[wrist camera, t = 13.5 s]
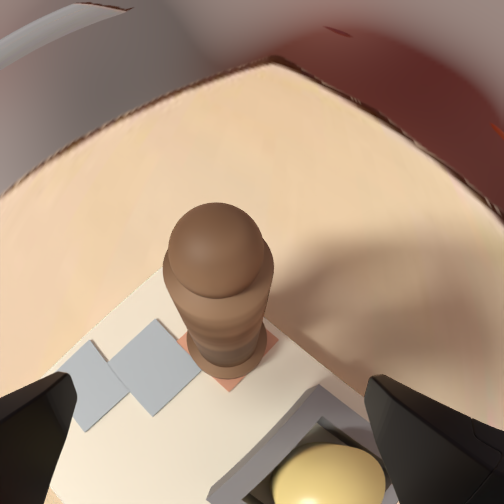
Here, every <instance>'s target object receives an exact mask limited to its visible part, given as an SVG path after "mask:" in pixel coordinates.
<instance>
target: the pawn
mask: <svg viewBox="0 0 504 504" xmlns="http://www.w3.org/2000/svg"><path fill="white" fill-rule="evenodd" d="M273 274H274V262H273V257H272V253H271V251H270V248H269V247H268V245H267V243H266V242H265V241H264V239H263V238H262V235H261V232H260V230H259V228H258V226H257V225H256V223H255V222H254V220H253V219H252V218H251V217H250V216H249V215H248V214H247V213H245V212H244V211H243V210H241V209H239V208H237V207H235V206H233V205H229V204H225V203H207V204H203V205H200V206H197V207H195V208H193V209H192V210H190V211H189V212H187V213H186V214H185V215H184V216H183V217H182V218H181V219H180V220H179V221H178V222H177V224H176V226H175V227H174V229H173V231H172V233H171V236H170V240H169V246H168V250H167V252H166V254H165V257H164V261H163V278H164V283H165V285H166V288H167V290H168V292H169V294H170V296H171V298H172V300H173V302H174V304H175V306H176V308H177V310H178V312H179V314H180V316H181V318H182V320H183V322H184V324H185V326H186V328H187V347H188V351H189V353H190V355H191V357H192V359H193V360H194V362H195V363H196V364H197V366H198V367H199V368H200V369H201V370H202V371H204V372H205V373H207V374H208V375H210V376H212V377H215V378H219V379H236V378H240V377H243V376H245V375H247V374H248V373H250V372H251V371H253V370H254V369H255V368H256V367H257V366H258V364H259V363H260V361H261V359H262V357H263V355H264V352H265V350H266V345H267V333H266V328H265V325H264V323H263V317H264V312H265V308H266V304H267V300H268V296H269V291H270V287H271V283H272V278H273Z"/></svg>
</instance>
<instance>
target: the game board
mask: <svg viewBox="0 0 504 504" xmlns="http://www.w3.org/2000/svg"><path fill="white" fill-rule="evenodd" d="M263 323H264V325H265V328H266V333H267V345H266V350H265V352H264V355H263V357H262V359H261V361H260V363H259V364H258V366H257V367H256V368H255V369H254V370H253V371H251V372H250V373H248V374H247V375H245V376H243V377H240V378H236V379H219V378H215V377H212V376H210V375H208V374H207V373H205V372H204V371H202V370H201V369H200V368H199V367H198V366H197V364H196V363H195V362H194V360H193V359H192V357H191V355H190V353H189V351H188V347H187V328H186V326H185V324H184V322H183V320H182V318H181V316H180V314H179V312H178V310H177V308H176V306H175V304H174V302H173V300H172V298H171V296H170V294H169V292H168V290H167V288H166V285H165V283H164V278H163V266H162V267H161V268H160V269H159V270H157V271H156V272H155V273H154V274H153V275H152V276H150V277H149V278H148V279H147V280H146V281H145V282H144V283H142V284H141V285H140V286H139V287H138V288H137V289H136V290H134V291H133V292H132V293H131V294H130V295H129V296H128V297H127V298H125V299H124V300H123V301H122V302H121V303H120V304H119V305H118V306H116V307H115V308H114V309H113V310H112V311H111V312H110V313H109V314H108V315H107V316H105V317H104V318H103V319H102V320H101V321H100V322H99V323H98V324H97V325H96V326H95V327H93V328H92V329H91V330H90V331H89V332H88V333H87V334H86V335H85V336H84V337H83V338H82V339H81V340H80V341H78V342H77V343H76V344H75V345H74V346H73V347H72V348H71V349H70V350H69V351H68V352H67V353H66V354H65V355H64V356H63V357H62V358H61V359H60V360H59V361H58V362H56V363H55V364H54V365H53V366H52V367H51V368H50V369H49V370H48V371H47V372H46V373H45V374H44V375H43V376H42V377H41V378H40V379H42V378H44V377H46V376H48V375H50V374H53V373H55V372H57V371H61V372H66V373H69V374H70V375H71V378H72V381H73V383H74V386H75V389H76V392H77V403H76V406H75V410H74V413H73V417H72V420H71V424H70V428H69V432H68V435H67V438H66V441H65V444H64V447H63V449H62V452H61V454H60V457H59V460H58V463H57V465H56V468H55V471H54V474H53V477H52V480H51V483H50V488H51V489H52V490H53V491H54V493H55V494H56V495H57V496H58V498H59V499H60V500H61V501H62V502H63V504H275V503H274V501H273V498H272V496H271V492H270V480H271V476H272V472H273V470H274V468H275V467H276V466H277V465H278V464H279V463H280V462H281V461H282V460H283V459H284V458H285V457H286V456H287V455H288V454H289V453H290V452H291V451H292V450H293V449H295V448H296V447H299V446H301V445H304V444H307V443H312V442H329V443H334V444H339V445H344V446H349V447H354V448H358V449H361V450H363V451H365V452H367V453H369V454H370V455H371V456H373V457H374V458H375V459H376V460H377V461H378V463H379V464H380V466H381V467H382V470H383V472H384V476H385V483H386V484H385V493H384V497H383V500H382V503H381V504H397V502H398V501H399V500H398V498H397V495H396V492H395V490H394V487H393V485H392V482H391V480H390V477H389V475H388V472H387V470H386V467H385V465H384V463H383V460H382V458H381V455H380V453H379V450H378V448H377V445H376V443H375V439H374V436H373V432H372V429H371V425H370V422H369V418H368V414H367V411H366V408H365V404H364V397H363V396H361V395H360V394H359V393H357V392H356V391H355V390H354V389H352V388H351V387H350V386H348V385H347V384H346V383H345V382H343V381H342V380H341V379H339V378H338V377H337V376H336V375H334V374H333V373H332V372H331V371H329V370H328V369H327V368H326V367H324V366H323V365H322V364H321V363H319V362H318V361H317V360H316V359H314V358H313V357H312V356H311V355H309V354H308V353H307V352H306V351H305V350H303V349H302V348H301V347H300V346H298V345H297V344H296V343H295V342H294V341H292V340H291V339H290V338H289V337H287V336H286V335H285V334H284V333H283V332H281V331H280V330H279V329H278V328H277V327H275V326H274V325H273V324H272V323H271V322H269V321H268V320H267V319H266V318H265V317H263ZM40 379H39V380H40Z"/></svg>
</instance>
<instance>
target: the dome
mask: <svg viewBox="0 0 504 504" xmlns="http://www.w3.org/2000/svg"><path fill="white" fill-rule="evenodd" d="M385 484H386V483H385V476H384V472H383V470H382V467H381V466H380V464H379V463H378V461H377V460H376V459H375V458H374V457H373V456H371V455H370V454H369V453H367V452H365V451H363V450H361V449H358V448H354V447H349V446H344V445H339V444H334V443H329V442H312V443H307V444H304V445H301V446H299V447H296V448H295V449H293V450H292V451H291V452H290V453H289V454H288V455H287V456H286V457H285V458H284V459H283V460H282V461H281V462H280V463H279V464H278V465H277V466H276V467H275V468H274V470H273V472H272V476H271V480H270V492H271V496H272V498H273V501H274V503H275V504H381V503H382V500H383V497H384V493H385Z"/></svg>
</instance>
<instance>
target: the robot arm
mask: <svg viewBox="0 0 504 504" xmlns="http://www.w3.org/2000/svg"><path fill="white" fill-rule="evenodd" d="M76 403H77V392H76V389H75V386H74V383H73V381H72V378H71V375H70V374H69V373H66V372H61V371H57V372H55V373H53V374H50V375H48V376H46V377H44V378H42V379H40V380H38V381H36V382H34V383H31V384H29V385H27V386H25V387H23V388H21V389H19V390H16V391H14V392H12V393H10V394H8V395H5V396H3V397H1V398H0V504H44V501H45V498H46V495H47V492H48V489H49V486H50V483H51V480H52V477H53V474H54V471H55V468H56V465H57V463H58V460H59V457H60V454H61V452H62V449H63V447H64V444H65V441H66V438H67V435H68V432H69V428H70V424H71V420H72V417H73V413H74V410H75V406H76ZM364 404H365V408H366V411H367V414H368V418H369V422H370V425H371V429H372V432H373V436H374V439H375V443H376V445H377V448H378V450H379V453H380V455H381V458H382V460H383V463H384V465H385V467H386V470H387V472H388V475H389V477H390V480H391V482H392V485H393V487H394V490H395V492H396V495H397V498H398V500H399V503H400V504H504V431H502V430H499V429H496V428H494V427H491V426H489V425H487V424H484V423H482V422H480V421H478V420H475V419H473V418H472V419H471V417H469V416H467V415H464V414H462V413H460V412H458V411H456V410H454V409H452V408H450V407H448V406H445V405H443V404H441V403H439V402H437V401H435V400H433V399H431V398H429V397H427V396H425V395H423V394H421V393H419V392H417V391H415V390H413V389H411V388H409V387H407V386H405V385H403V384H401V383H399V382H397V381H395V380H393V379H391V378H389V377H387V376H386V375H375V376H371V377H370V379H369V381H368V385H367V389H366V393H365V396H364Z"/></svg>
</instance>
